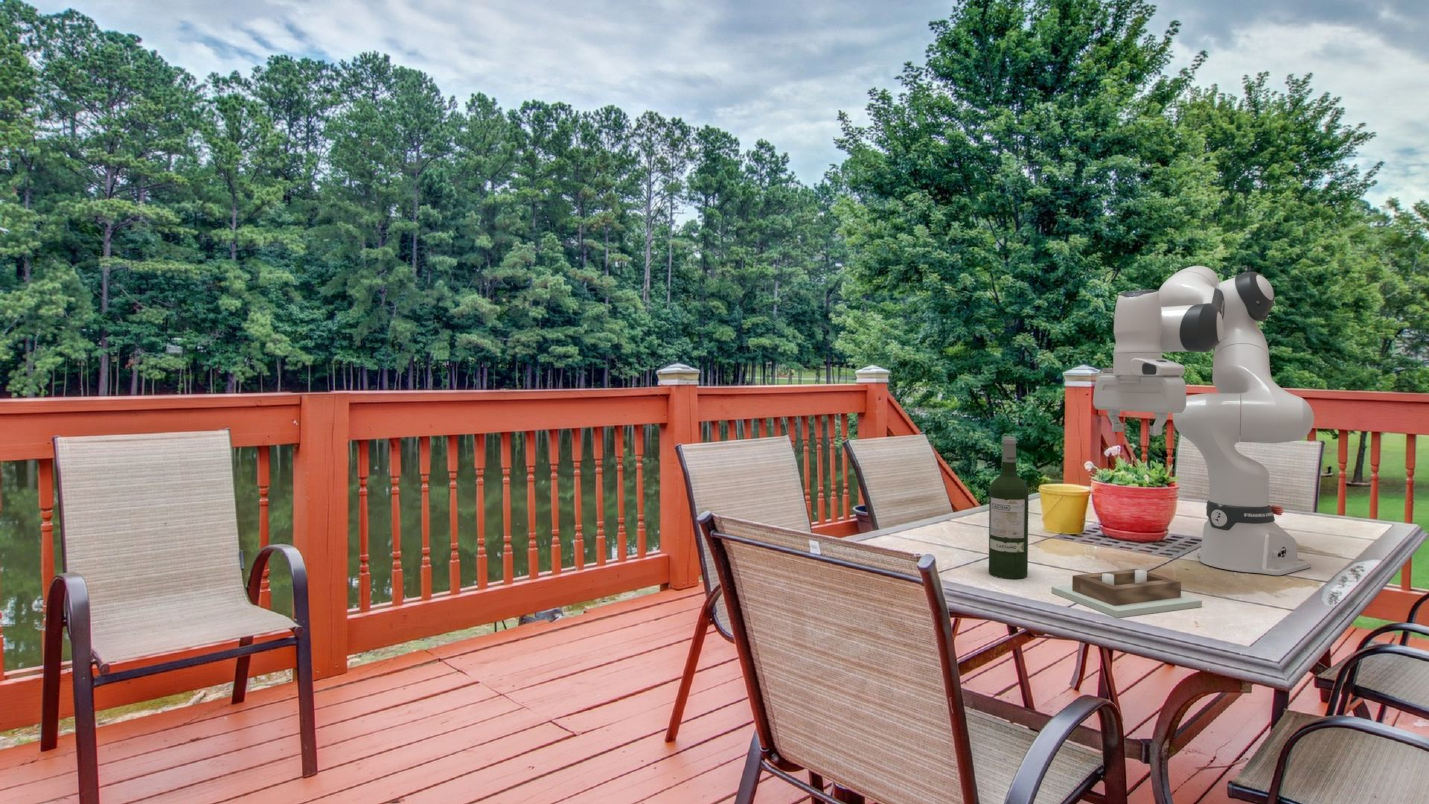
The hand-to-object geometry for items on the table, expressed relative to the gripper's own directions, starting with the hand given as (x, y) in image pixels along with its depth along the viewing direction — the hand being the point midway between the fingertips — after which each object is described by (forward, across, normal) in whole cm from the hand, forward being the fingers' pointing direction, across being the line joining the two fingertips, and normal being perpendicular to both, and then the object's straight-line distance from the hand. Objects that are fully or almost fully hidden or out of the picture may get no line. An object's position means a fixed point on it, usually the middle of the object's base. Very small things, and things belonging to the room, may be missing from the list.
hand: (1136, 433), depth 155 cm
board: (+31, +10, -13) cm, 35 cm away
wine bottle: (+31, -12, -22) cm, 40 cm away
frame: (+30, +10, -13) cm, 34 cm away
